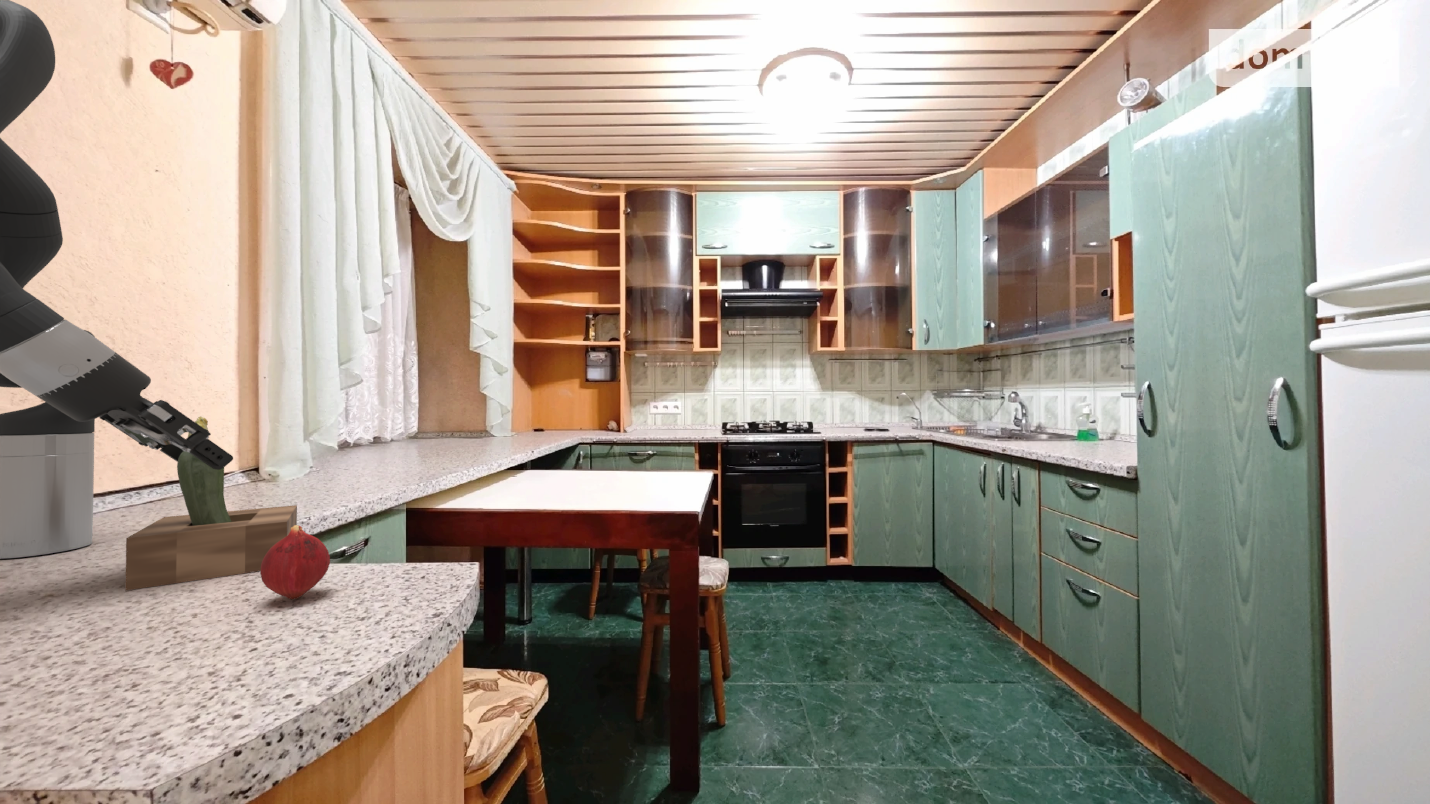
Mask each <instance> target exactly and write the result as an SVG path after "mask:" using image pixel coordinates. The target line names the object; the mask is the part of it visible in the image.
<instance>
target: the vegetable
mask: <svg viewBox="0 0 1430 804" xmlns="http://www.w3.org/2000/svg"><path fill="white" fill-rule="evenodd" d="M194 422H195V423H197V424H198V425H200V426H201V427H202V428H204V429H206V430H208V431H209V428H208V419H207V418H205V417H202V416H198V418H196V420H195V421H194ZM187 433H188V434H187V438H188V437H189V436H191V435H192V434H191V433H189V432H187ZM208 437H209V438H210V436H208ZM176 471H177V477H178V483H179V488H180V489H181V493H182V496H183V499H184V503H185V507H186V509H187V513H188V515H189V516H190V519H191V522H192V526H197V525H207V524H217V523H228V522H232V521H231V519H230V517H229V514H228V512H227V511H228V510H227V506H226V503H225V496H224V495H225V494H224V493H225V492H224V490H225V484H224V483H225V467H224V468H223V469H220V470H216V469H213V468H211V467H210V466H208V465H207V464H205V463H204V462H202V461H201V460H199V459H198V458H196V457H195V456H193V455H192V454H190V453H189V452H187V451H186V452H185V451H183V452H182V453H181V455H180V456H179V459H178V462H177V464H176Z"/></svg>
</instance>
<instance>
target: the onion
mask: <svg viewBox="0 0 1430 804" xmlns="http://www.w3.org/2000/svg"><path fill="white" fill-rule="evenodd" d="M330 564H331V557H330V553H329V550H328V549H327V546H326V545H325V544H324V543H323V542H322V541H321V540H320V539H319V538H318V537H316V536H314V535H312V534H309V533H306V532H305V531H304V530H303V527H302V526H301V525H298V524H297V525H294V526H293V527H291V531H290V533H289V534H288V536H286V537H285V538H283V539H282V540H280V541H279V542H277V543H276V544H275V545H274V546H272V547H271V549H270V550H269V551H268V552H267V554H266V555H265V557H264V558H263V561H262V563H261V571H259V572H260V578H261V581H262V583H263V584H264V585H265V586H266V588H268V589H269V590H270V591H272V592H274V593H275V594H276V595H279V596H282V597H285V598H287V599H288V600H297V599H299V598H301V597H302V596H304V595H305V594H306V593H307V592H309V591H310V590H311V589H313V588H314V587H315V586H316V585H317V584H318V583H319V582H320V581H321V580H322V579H323V578H324V576H325V575H326V574H327V572H328V570H329V567H330Z"/></svg>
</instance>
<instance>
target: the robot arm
mask: <svg viewBox="0 0 1430 804" xmlns="http://www.w3.org/2000/svg"><path fill="white" fill-rule="evenodd" d="M55 69H56V50H55V46H54V42H53V39H52V37H51V34H50V32H49V29H48V28H47V26H46V24H45V23H44V21H43V20H42V19H41V18H40V16H39V15H38V14H36V12H34V11H33V10H31V9H30V8H28V7H26V6H24V5H22V4H19V3H17V2H14V1H12V0H0V134H1V133H2V132H3V131H4V130H5V129H7V128H8V127H9V126H10V125H11V124H12V123H13V122H14V121H15V120H16V119H18V118H19V116H21V114H22V113H23V112H24V111H25V110H27V108H28V107H29V106H30V105H31V104H32V103H33V102H34V101H35V100H36V99H37V98H38V97H39V96H40V95H41V94H42V92H43V91H44V90H45V89H46V88H47V86H48V85H49V83H50V82H51V80H52V78H53V75H54V73H55ZM59 214H60V213H59V209H58V204H57V199H56V198H55V195H54V193H53V191H52V189H51V188H50V186H49V185H48V184H47V183H46V182H45V180H43V178H42V177H41V176H40V175H39V174H38V173H37V172H36V171H35V170H34V169H33V168H32V167H31V166H30V165H29V164H28V163H27V162H26V161H25V160H24V159H23V158H22V157H21V156H20V155H19V154H17V152H16V151H14V150H13V148H12V147H10V146H9V145H8V144H7V143H6V142H5V141H4V139H2V138H1V137H0V388H10V389H11V388H12V389H13V388H17V389H18V388H19V389H20V388H22V389H24V390H26V391H27V392H29V393H31V394H32V395H34V396H35V397H37V398H39V399H40V400H42V401H43V402H42V403H40V404H37V405H33V406H31V407H28V408H22V409H18V410H13V411H8V412H3V413H0V559H1V560H2V559H16V558H25V557H35V556H41V555H49V554H53V553H60V552H66V551H70V550H75V549H79V548H84V547H87V546H89V545H91V544H93V525H94V523H93V522H94V521H93V520H94V480H95V477H94V476H95V475H94V473H95V470H94V469H95V430H96V429H95V428H96V427H95V423H96V420H95V419H98V418H99V419H100V420H101V421H105V422H106V423H108V424H110V425H111V426H112V427H114V428H116V429H117V430H119V431H120V432H122V434H124V435H126V436H127V437H129V438H131V439H132V440H134V441H135V442H137V443H138V445H140V446H144V447H147V448H148V447H149V448H150V449H151V450H155V451H158V450H159V452H161V453H162V454H165V455H166V456H167V457H169V458H170V459H172V460H174V461H175V462H177V463H178V459H179V456H180V455H181V453H182V452H183V451H185V452H186V451H187V452H189V453H190V454H192V455H193V456H195V457H196V458H198V459H199V460H201V461H202V462H204V463H205V464H207V465H208V466H210V467H211V468H213V469H216V470H220V469H223V468H224V469H225V467H227V465H229V464H230V463H231V462H232V461H233V460H234V456H233V455H232V454H231V453H229V452H228V451H226V450H225V449H223V448H222V447H221V446H219V445H217V444H216V443H214V442H213V441H212V440H210V436H211V434H212V433H211V432H210V431H209V429H208V430H206V429H204V428H202V427H201V426H200V425H198V424H197V423H195V421H194V420H192V419H191V418H190V417H188V416H187V415H185V414H184V413H182V411H181V412H180V411H179V410H178V409H177V408H175V407H174V406H172V405H171V404H170V402H168V401H166V400H162V399H160V400H156V401H154V402H152V401H150V400H149V399H147V398H146V397H143V396H142V395H141V393H142V391H144V390H145V389H147V388H148V387H149V386H150V384H151V382H152V379H151V377H150V376H149V375H147V374H146V373H145V372H143V371H142V370H140V369H139V368H138V367H137V366H135V365H134V364H132V363H131V362H129V360H127V359H126V358H124V357H123V356H121V354H118V353H117V352H116V351H114V349H112V348H111V347H109V346H107V345H106V344H105V343H104V342H103V341H101V340H99V339H98V338H97V337H96V336H95V335H94V334H93V333H92V332H91V331H89V330H86V329H83V328H80V327H79V326H77V325H76V324H74V323H73V322H71V321H69V320H67V319H65V317H64V316H63V315H60V314H59V313H58V312H57V311H55V310H54V309H52V308H51V307H49V306H48V305H47V304H45V303H44V302H43V301H41V300H40V299H39V298H37V297H36V296H34V295H32V294H31V293H29V292H28V291H27V290H25V287H26V286H27V284H28V283H29V282H30V281H31V280H33V278H34V277H35V276H37V275H38V274H39V273H40V272H41V271H42V270H43V269H44V268H45V267H46V266H48V265H49V263H50V262H51V261H52V260H53V259H54V258H55V257H56V256H57V255H58V253H59V251H60V250H61V248H62V246H63V241H64V239H63V231H62V225H61V220H60V215H59ZM186 433H191V434H192V435H191V436H189V437H188V436H187V438H184V437H183V436H182V435H184V434H186ZM208 436H209V437H208Z"/></svg>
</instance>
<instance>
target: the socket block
mask: <svg viewBox="0 0 1430 804" xmlns="http://www.w3.org/2000/svg"><path fill="white" fill-rule="evenodd" d="M227 512H228V514H229V517H230V519H231V521H232V522H228V523H217V524H207V525H197V526H192V522H191V519H190V516H189V514H184V515H183V514H182V515H171V516H163V517H162V518H160V519H158V520H156V521H154V522H152V523H151V524H149V525H148V526H145V527H144V528H141V529H140V530H138V531H137V532H135V533H133V534H131V535H130V536H129V535H128V537H126V541H125V542H126V543H125V586H124V590H125V591H132V590H138V589H146V588H151V587H158V586H165V585H173V584H180V583H185V582H192V581H193V582H194V581H200V580H201V581H202V580H207V579H214V578H222V577H228V576H234V575H241V574H248V573H249V574H250V573H255V572H260V571H261V563H262V561H263V558H264V557H265V555H266V554H267V552H268V551H269V550H270V549H271V547H272V546H274V545H275V544H276V543H277V542H279V541H280V540H282V539H283V538H285V537H286V536H288V534H289V533H290V531H291V527H293V526H294V525H298V524H297V523H298V520H297V519H298V518H297V517H298V505H297V504H293V505H284V506H272V507H262V508H261V507H260V508H251V509H249V508H248V509H241V510H240V509H239V510H227Z"/></svg>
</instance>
